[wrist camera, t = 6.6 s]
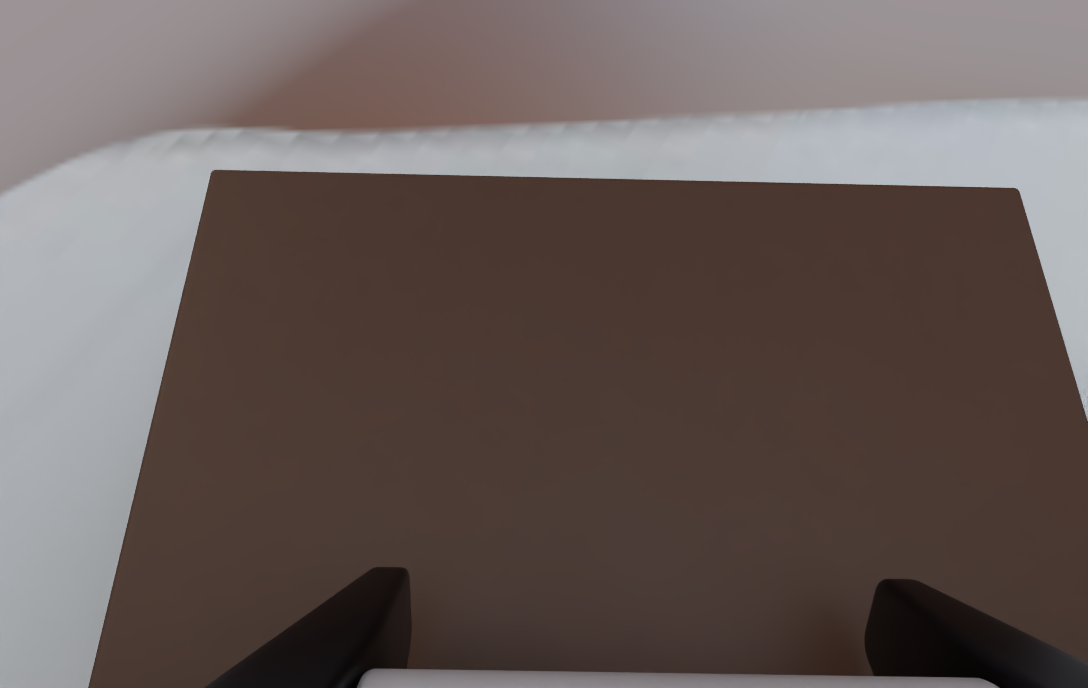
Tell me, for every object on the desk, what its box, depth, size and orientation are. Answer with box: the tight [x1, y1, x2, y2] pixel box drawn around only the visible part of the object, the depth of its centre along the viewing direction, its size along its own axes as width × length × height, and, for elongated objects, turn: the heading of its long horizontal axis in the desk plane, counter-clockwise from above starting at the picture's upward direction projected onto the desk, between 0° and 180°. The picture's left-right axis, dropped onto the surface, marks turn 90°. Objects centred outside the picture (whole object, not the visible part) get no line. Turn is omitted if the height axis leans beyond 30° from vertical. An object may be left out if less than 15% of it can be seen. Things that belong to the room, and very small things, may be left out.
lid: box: [88, 170, 1088, 688], centre depth 9 cm, size 10×13×4 cm
